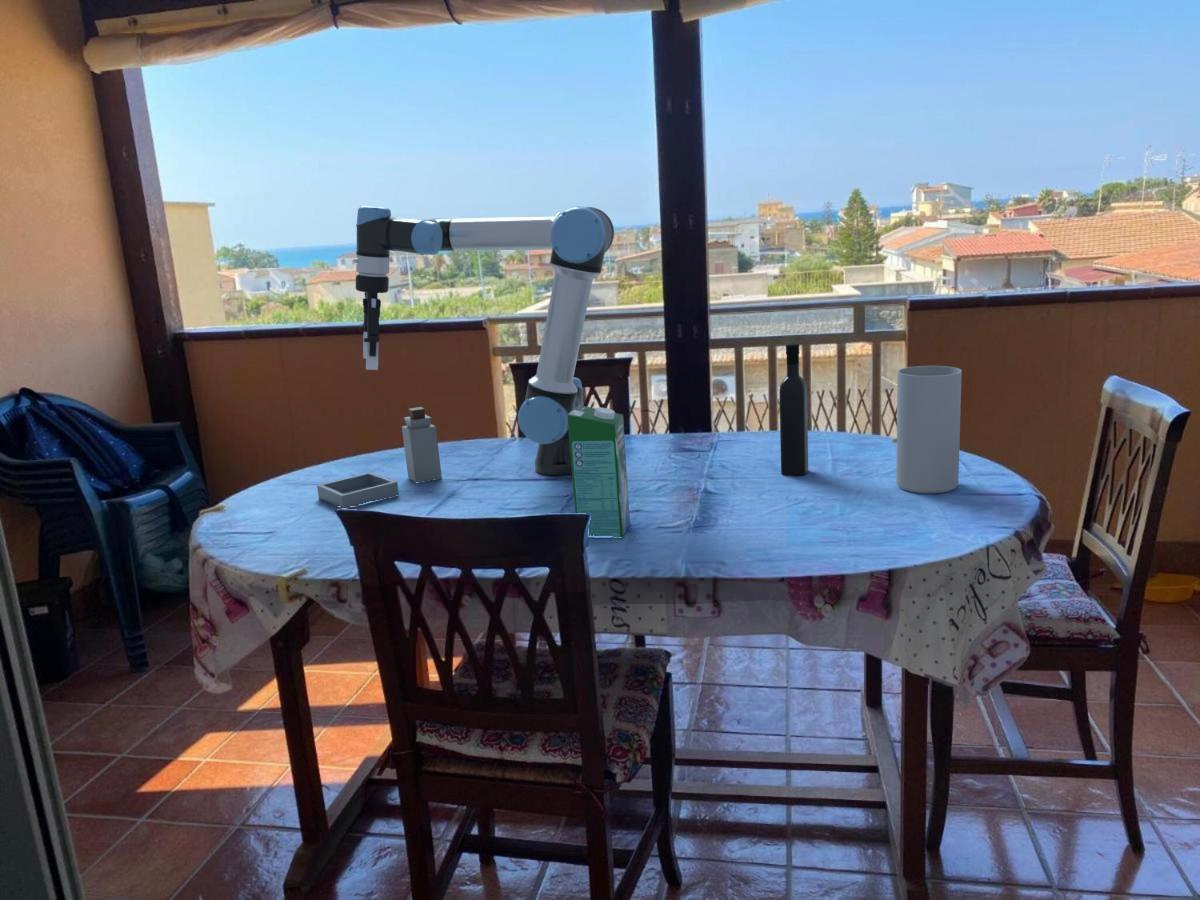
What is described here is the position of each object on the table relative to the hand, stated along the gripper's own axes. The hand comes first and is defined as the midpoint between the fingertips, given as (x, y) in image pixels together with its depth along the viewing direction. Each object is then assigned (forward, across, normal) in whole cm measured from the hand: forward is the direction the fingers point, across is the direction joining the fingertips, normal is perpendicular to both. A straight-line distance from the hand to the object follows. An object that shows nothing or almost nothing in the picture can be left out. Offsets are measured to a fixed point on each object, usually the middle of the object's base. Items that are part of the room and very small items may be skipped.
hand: (370, 363), depth 217 cm
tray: (+31, +10, -2) cm, 32 cm away
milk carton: (+20, +60, +42) cm, 77 cm away
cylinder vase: (+10, +66, +113) cm, 131 cm away
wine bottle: (+14, +42, +94) cm, 104 cm away
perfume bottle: (+29, 0, +14) cm, 32 cm away
